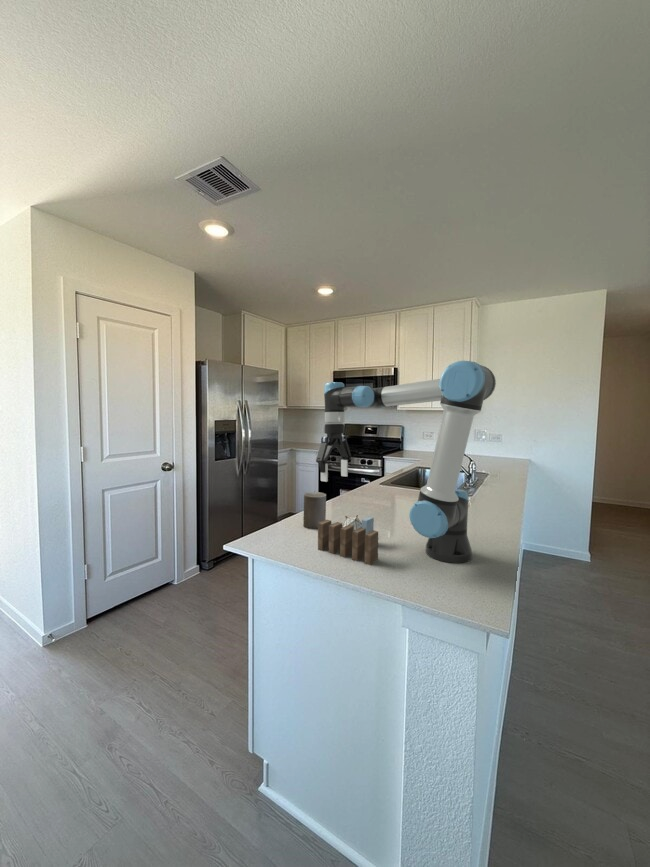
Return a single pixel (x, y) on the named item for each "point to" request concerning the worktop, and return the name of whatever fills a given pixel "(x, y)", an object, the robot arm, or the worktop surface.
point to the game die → (353, 522)
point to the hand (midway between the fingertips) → (334, 478)
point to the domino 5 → (368, 524)
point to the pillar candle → (314, 509)
